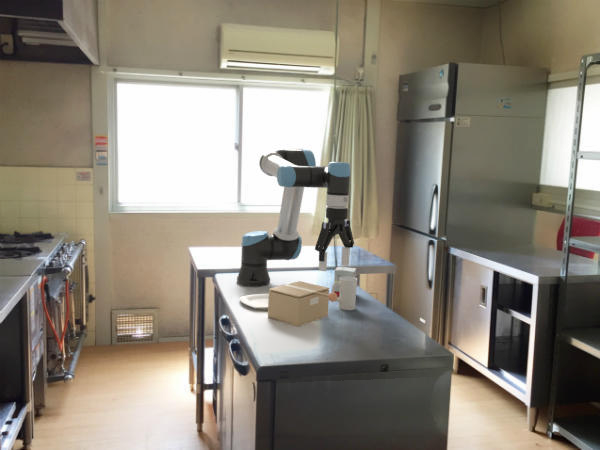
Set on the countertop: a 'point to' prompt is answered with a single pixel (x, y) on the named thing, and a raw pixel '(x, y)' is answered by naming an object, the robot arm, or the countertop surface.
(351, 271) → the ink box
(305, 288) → the flap
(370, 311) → the countertop surface
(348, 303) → the mug
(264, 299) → the plate
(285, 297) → the carton
